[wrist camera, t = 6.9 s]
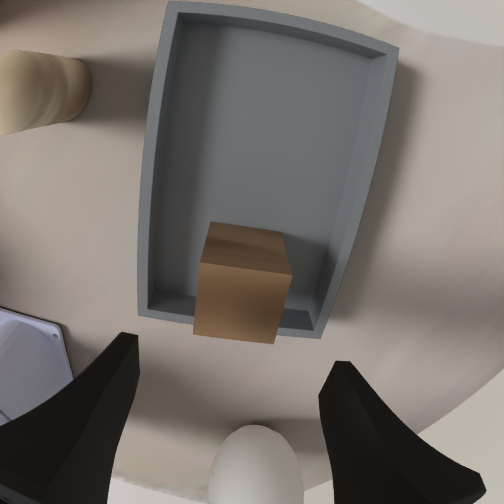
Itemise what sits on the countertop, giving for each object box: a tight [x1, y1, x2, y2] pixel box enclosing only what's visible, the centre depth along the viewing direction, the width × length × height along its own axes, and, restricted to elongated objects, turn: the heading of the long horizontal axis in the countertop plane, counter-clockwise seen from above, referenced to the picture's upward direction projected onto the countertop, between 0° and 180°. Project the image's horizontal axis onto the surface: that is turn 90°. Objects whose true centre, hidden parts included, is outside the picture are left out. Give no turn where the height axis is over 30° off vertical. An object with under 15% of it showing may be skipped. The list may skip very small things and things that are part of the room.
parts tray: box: [137, 1, 399, 339], centre depth 16 cm, size 17×11×2 cm, turn 170°
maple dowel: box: [0, 50, 92, 135], centre depth 12 cm, size 4×4×6 cm
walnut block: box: [193, 221, 292, 344], centre depth 17 cm, size 4×4×5 cm
